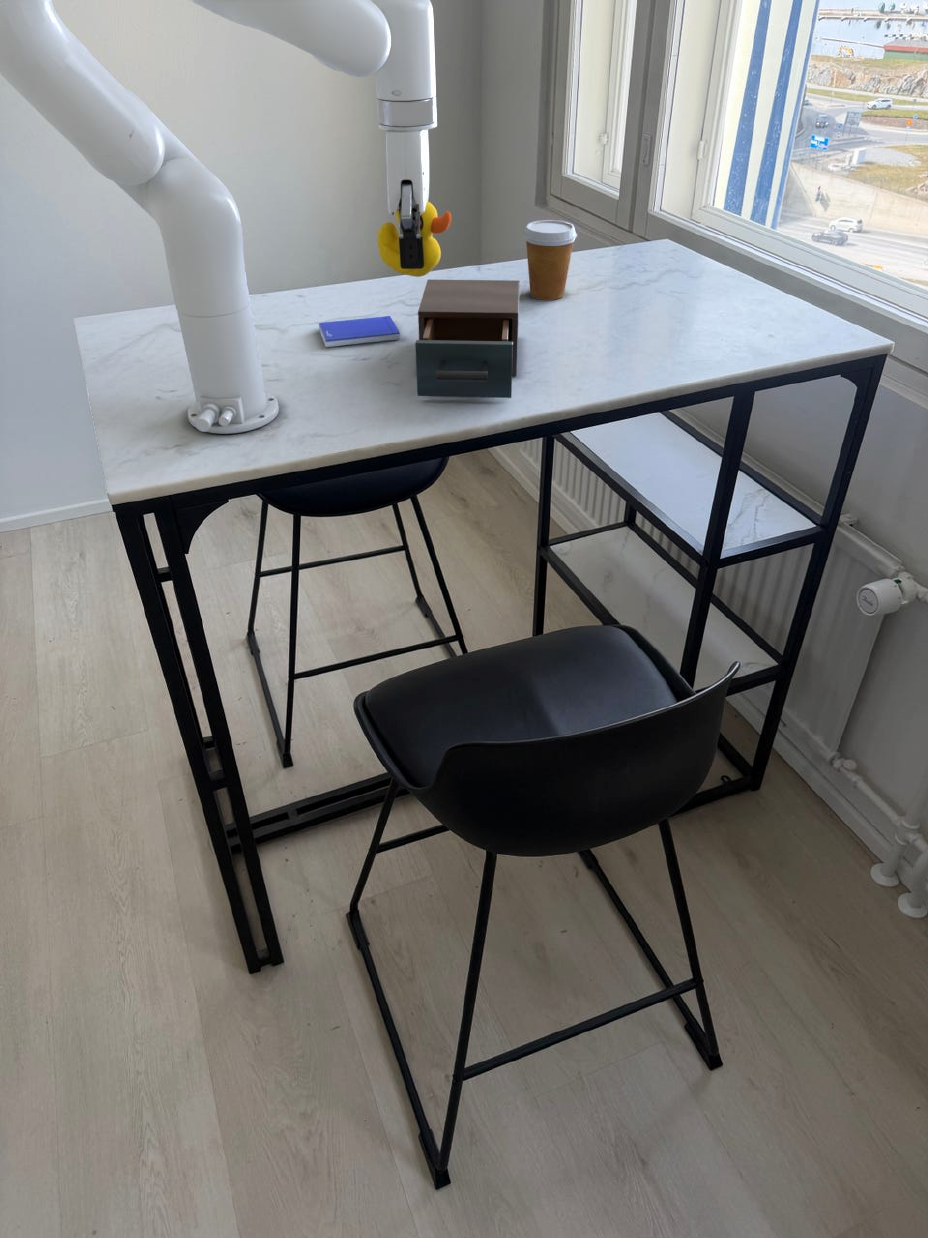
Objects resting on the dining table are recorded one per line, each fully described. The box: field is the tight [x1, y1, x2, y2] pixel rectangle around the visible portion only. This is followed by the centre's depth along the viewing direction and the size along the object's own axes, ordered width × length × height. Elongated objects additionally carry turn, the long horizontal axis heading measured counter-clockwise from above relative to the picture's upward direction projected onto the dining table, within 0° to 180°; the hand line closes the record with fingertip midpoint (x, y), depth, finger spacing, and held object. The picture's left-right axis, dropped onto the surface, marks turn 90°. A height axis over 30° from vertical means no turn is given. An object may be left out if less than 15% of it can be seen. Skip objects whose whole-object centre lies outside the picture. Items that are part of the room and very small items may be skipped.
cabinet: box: [417, 279, 521, 378], centre depth 136 cm, size 15×15×10 cm
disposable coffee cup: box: [523, 219, 578, 301], centre depth 158 cm, size 10×10×12 cm
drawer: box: [414, 318, 513, 399], centre depth 126 cm, size 19×14×8 cm
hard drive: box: [318, 315, 401, 348], centre depth 146 cm, size 2×8×12 cm
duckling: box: [377, 200, 452, 278], centre depth 119 cm, size 11×5×10 cm, turn 63°
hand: (414, 259), depth 121 cm, fingers closed on duckling, 6 cm apart
